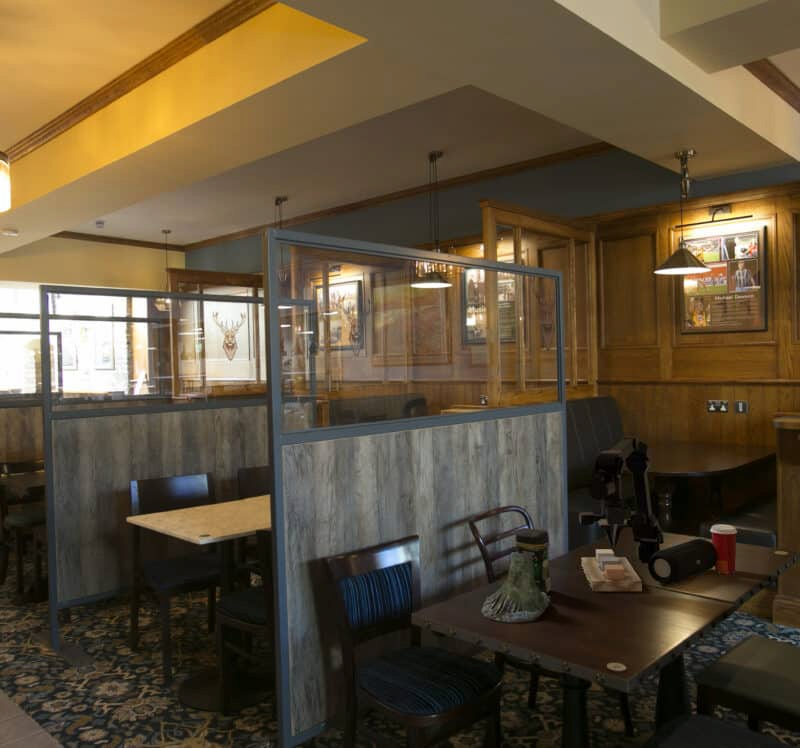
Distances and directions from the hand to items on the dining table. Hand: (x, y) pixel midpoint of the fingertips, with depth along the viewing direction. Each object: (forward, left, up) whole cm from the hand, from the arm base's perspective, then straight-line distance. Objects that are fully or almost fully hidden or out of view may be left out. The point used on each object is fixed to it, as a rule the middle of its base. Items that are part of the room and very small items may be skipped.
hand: (613, 546), depth 211 cm
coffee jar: (+24, +4, -12) cm, 27 cm away
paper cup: (-36, -16, -12) cm, 41 cm away
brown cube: (0, 0, -11) cm, 11 cm away
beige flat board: (0, -9, -12) cm, 15 cm away
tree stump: (+30, +20, -12) cm, 38 cm away
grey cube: (0, -9, -11) cm, 14 cm away
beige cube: (0, -18, -11) cm, 21 cm away
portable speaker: (-22, -10, -12) cm, 27 cm away
